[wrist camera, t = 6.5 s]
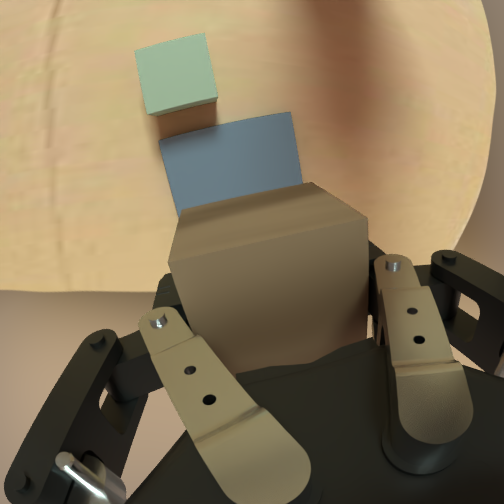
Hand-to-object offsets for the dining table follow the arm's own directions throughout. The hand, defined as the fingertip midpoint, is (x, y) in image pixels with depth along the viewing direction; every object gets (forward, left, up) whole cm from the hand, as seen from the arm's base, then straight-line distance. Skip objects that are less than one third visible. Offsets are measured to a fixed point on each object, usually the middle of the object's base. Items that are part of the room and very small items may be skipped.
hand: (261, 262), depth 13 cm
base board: (0, +1, -17) cm, 17 cm away
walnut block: (0, 0, -1) cm, 1 cm away
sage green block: (-11, -2, -18) cm, 21 cm away
